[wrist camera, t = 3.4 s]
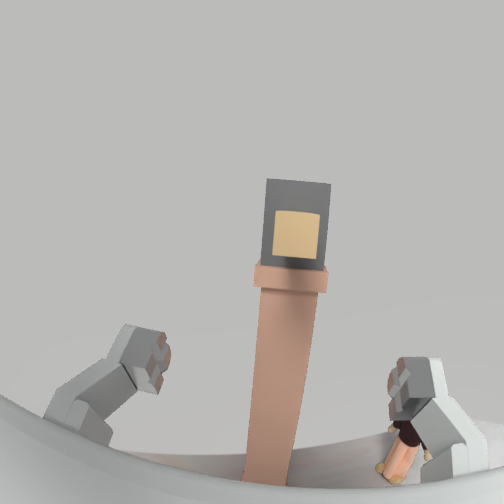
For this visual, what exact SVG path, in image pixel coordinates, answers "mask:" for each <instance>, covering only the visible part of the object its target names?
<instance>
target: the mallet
mask: <svg viewBox="0 0 504 504" xmlns="http://www.w3.org/2000/svg"><path fill="white" fill-rule="evenodd" d="M330 192H331V184H326V183H315V182H304V181H293V180H280V179H267V184H266V197H265V211H264V224H263V238H262V250H261V263H260V265H263V266H274V267H285V268H295V269H306V270H317V271H323V269H324V260H325V250H326V239H327V230H328V218H329V206H330Z"/></svg>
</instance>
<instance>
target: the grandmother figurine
mask: <svg viewBox="0 0 504 504" xmlns="http://www.w3.org/2000/svg"><path fill="white" fill-rule="evenodd" d="M410 421H411V420H398V421H394V422H393V424H391V426H389V428H388V432H389V433H394V432H395V431H396V430H397V429H400V432H399V434H398V436H397V437H396V439H395V441H394V444H393V446H392V448H391V450H390V452H389V454H388V456H387V458H386V460H385V462H382V463H379V464H377V465H376V467H375V469H376V471H377V472H379V473H381V474H383V475H384V477H385V478H387V480H388V482H390V483H391V484H393V485H397V484H400V483H401V482H402V481H403V480H404V479H405V478H406V473H407V471H408V470H409V468H410V466H411V465H412V463H413V460H414V458H415V456H416V453H417V450H418V448H419V445H420V442H421V444H422V447H423V449H424V453H425V455H424V460H425V461H430V460H431V459H432V456H431V454H430V453H429V451H428V449H427V448H426V446H425V445H424V443H423V441H422V440H421V438H420V436H419V435H418V433H417V431H416V430H415V428H414V427H413V425H412V423H411V422H410Z"/></svg>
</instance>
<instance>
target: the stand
mask: <svg viewBox="0 0 504 504" xmlns="http://www.w3.org/2000/svg"><path fill="white" fill-rule="evenodd" d="M260 263H261V259H260V260H259V261H258V263H257V264H256V266H255V272H254V285H253V286H257V287H261V296H260V308H259V309H260V310H259V320H258V333H257V344H256V355H255V366H254V378H253V388H252V389H253V390H252V400H251V410H250V420H249V431H248V441H247V452H246V462H245V471H243V475H242V479H241V481H245V482H252V483H260V484H268V485H278V486H286V485H287V472H288V467H289V463H290V458H291V453H292V449H293V444H294V439H295V434H296V429H297V424H298V419H299V413H300V407H301V402H302V397H303V391H304V385H305V379H306V373H307V367H308V361H309V354H310V348H311V340H312V334H313V327H314V320H315V313H316V304H317V297H318V292H320V293H326V289H327V280H328V272H327V269H326V267H325V266H324V269H323V271H317V270H306V269H295V268H285V267H274V266H263V265H260Z"/></svg>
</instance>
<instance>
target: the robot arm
mask: <svg viewBox="0 0 504 504" xmlns="http://www.w3.org/2000/svg"><path fill="white" fill-rule="evenodd" d="M166 339H167V338H166V335H165V333H164V332H159V331H155V330H150V329H145V328H140V327H137V326H132V325H127V324H125V325H124V326H123V327H122V328H121V330H120V332H119V334H118V336H117V338H116V340H115V342H114V344H113V346H112V348H111V350H110V352H109V354H108V356H107V358H106V359H101V360H100V361H98V362H97V363H95V364H94V365H92V366H91V367H89V368H88V369H86V370H85V371H83V372H82V373H80V374H79V375H77V376H76V377H75V378H73V379H71V380H70V381H69V382H67V383H65V384H64V385H63V386H61V387H59V388H58V389H57V390H56V392H55V394H54V396H53V398H52V400H51V402H50V404H49V406H48V408H47V410H46V412H45V414H44V417H43V418H41V417H40V416H38V415H36V414H34V413H32V412H30V411H28V410H26V409H25V408H23V407H21V406H19V405H17V404H15V403H14V402H12V401H10V400H8V399H7V398H5V397H4V396H2V395H0V504H504V466H502V467H499V468H495V469H491V470H490V467H489V458H488V450H487V443H486V438H485V436H484V435H483V434H482V433H481V431H480V430H479V429H478V428H477V426H476V425H475V424H474V423H473V422H472V420H471V419H470V418H469V417H468V415H467V414H466V413H465V412H464V411H463V409H462V408H461V407H460V406H459V405H458V403H457V402H456V401H455V400H454V399H453V397H449V396H448V390H447V385H446V380H445V376H444V371H443V366H442V362H441V359H440V358H439V357H401V358H399V359H398V361H397V367H396V368H394V369H393V370H392V371H391V373H390V375H389V378H388V386H387V387H388V394H389V395H390V397H391V398H392V400H391V402H390V403H389V415H390V421H391V420H393V421H398V420H411V421H410V422H411V423H412V425H413V427H414V428H415V430H416V431H417V433H418V435H419V436H420V438H421V440H422V441H423V443H424V445H425V446H426V448H427V449H428V451H429V453H430V454H431V456H432V458H433V459H431V460H430V461H428V462H427V463H425V464H424V465H423V466H422V467H421V483H420V484H411V485H402V486H391V487H376V488H345V489H336V488H304V487H289V486H278V485H268V484H260V483H252V482H245V481H238V480H232V479H226V478H221V477H215V476H210V475H205V474H201V473H196V472H192V471H187V470H183V469H179V468H175V467H171V466H167V465H164V464H160V463H157V462H153V461H150V460H146V459H143V458H140V457H137V456H134V455H131V454H128V453H125V452H122V451H119V450H116V449H113V448H111V447H108V445H109V442H110V440H111V437H112V434H113V431H112V429H111V428H110V426H109V425H108V424H106V422H105V421H104V420H105V419H106V418H107V417H108V416H110V415H111V414H112V413H113V412H114V411H115V410H117V409H118V408H119V407H120V406H121V405H122V404H123V403H124V402H126V401H127V400H128V399H129V398H130V397H131V396H132V395H134V394H135V393H136V392H137V390H140V391H144V392H149V393H153V394H157V395H158V394H159V391H160V388H161V386H162V383H163V376H162V373H163V372H165V371H166V370H167V369H168V366H169V363H170V358H171V350H170V347H169V345H168V344H167V343H166V342H165V341H166Z"/></svg>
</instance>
